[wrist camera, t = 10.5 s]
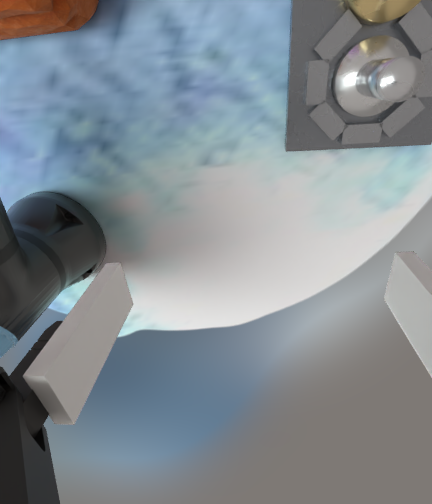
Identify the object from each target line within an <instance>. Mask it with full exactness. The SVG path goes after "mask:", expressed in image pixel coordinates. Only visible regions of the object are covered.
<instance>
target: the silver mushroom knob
mask: <svg viewBox="0 0 432 504" xmlns="http://www.w3.org/2000/svg"><path fill="white" fill-rule="evenodd" d="M424 77H425V68H424V65H423V63H422V61H421V60H420V59H418V58H417V57H414V56H409V53H408V50H407V48H406V47H405V45H404V44H403V43H402V42H401V41H399V40H398V39H396V38H394V37H391V36H385V35H382V36H374V37H371V38H367V39H365V40H362V41H360V42H358V43H356V44H355V45H353V46H352V47H351V48H350V49H349V50H348V51H347V52H346V53H345V54H344V55H343V56H342V58H341V59H340V61H339V63H338V65H337V66H336V69H335V72H334V75H333V80H332V91H333V96H334V98H335V101H336V103H337V104H338V105H339V107H340V108H341V109H343V110H344V111H345V112H347V113H350V114H352V115H355V116H360V117H368V116H373V115H376V114H379V113H381V112H383V111H385V110H386V109H388V108H389V107H390V106H391V105H393V104H394V103H395V102H402V101H405V100H407V99H409V98H411V97H412V96H413V95H414V94H415V93H416V92H417V91H418V90H419V89H420V87H421V85H422V83H423V81H424Z"/></svg>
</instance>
